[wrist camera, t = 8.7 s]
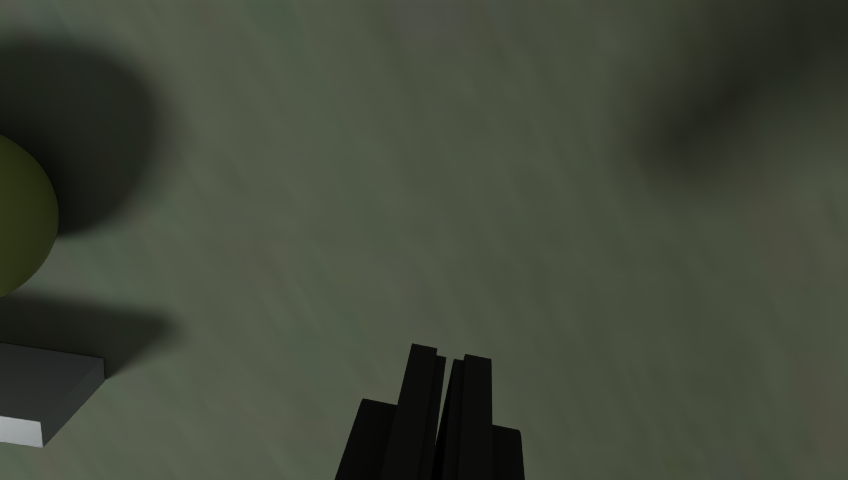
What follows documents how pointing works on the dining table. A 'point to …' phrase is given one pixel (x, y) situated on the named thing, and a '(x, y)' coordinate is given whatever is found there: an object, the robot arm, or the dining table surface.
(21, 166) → the pear
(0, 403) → the box
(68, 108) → the dining table surface
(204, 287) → the dining table surface
